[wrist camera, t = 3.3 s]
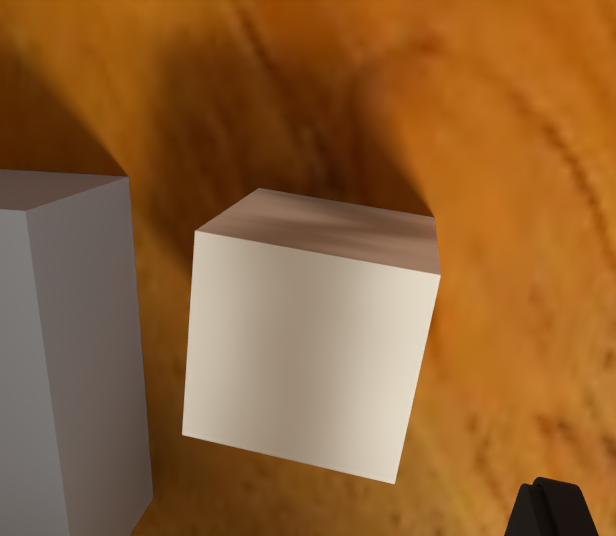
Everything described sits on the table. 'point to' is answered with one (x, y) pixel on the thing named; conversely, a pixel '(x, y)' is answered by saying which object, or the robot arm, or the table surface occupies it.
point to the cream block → (309, 330)
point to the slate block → (70, 358)
